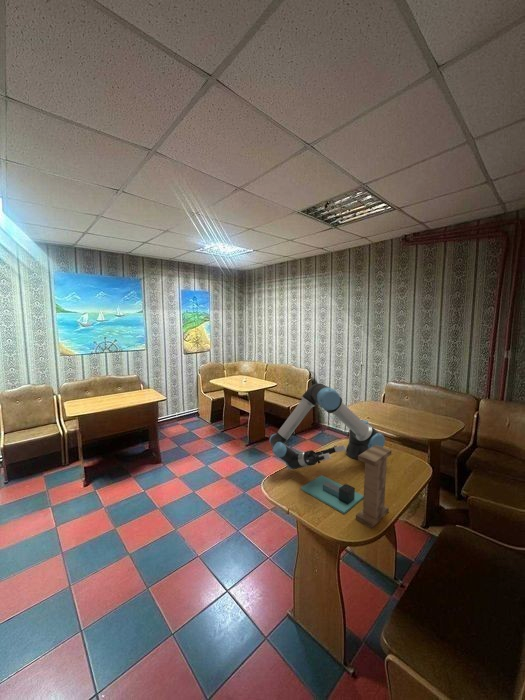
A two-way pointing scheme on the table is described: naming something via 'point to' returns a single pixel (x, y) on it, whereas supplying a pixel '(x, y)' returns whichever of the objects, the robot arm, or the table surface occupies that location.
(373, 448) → the walnut stand
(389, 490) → the table surface
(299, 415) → the robot arm
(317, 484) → the teal mat
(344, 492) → the bar
